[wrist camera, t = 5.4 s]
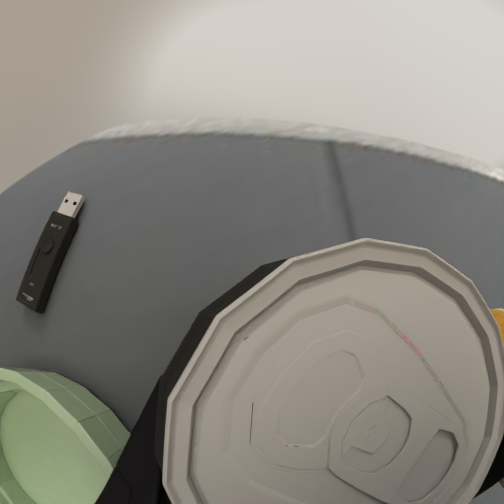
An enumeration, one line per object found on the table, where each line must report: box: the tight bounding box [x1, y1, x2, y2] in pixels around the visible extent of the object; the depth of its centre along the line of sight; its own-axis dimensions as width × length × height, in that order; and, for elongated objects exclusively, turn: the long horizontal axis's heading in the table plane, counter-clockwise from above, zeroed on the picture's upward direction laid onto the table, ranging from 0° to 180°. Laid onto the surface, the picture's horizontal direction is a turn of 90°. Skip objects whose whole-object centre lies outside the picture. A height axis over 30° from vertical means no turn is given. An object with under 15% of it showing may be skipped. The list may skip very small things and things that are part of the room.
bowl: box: [0, 366, 131, 504], centre depth 8 cm, size 12×12×4 cm
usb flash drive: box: [16, 192, 85, 313], centre depth 14 cm, size 8×2×1 cm, turn 165°
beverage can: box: [154, 238, 504, 504], centre depth 8 cm, size 7×7×12 cm
